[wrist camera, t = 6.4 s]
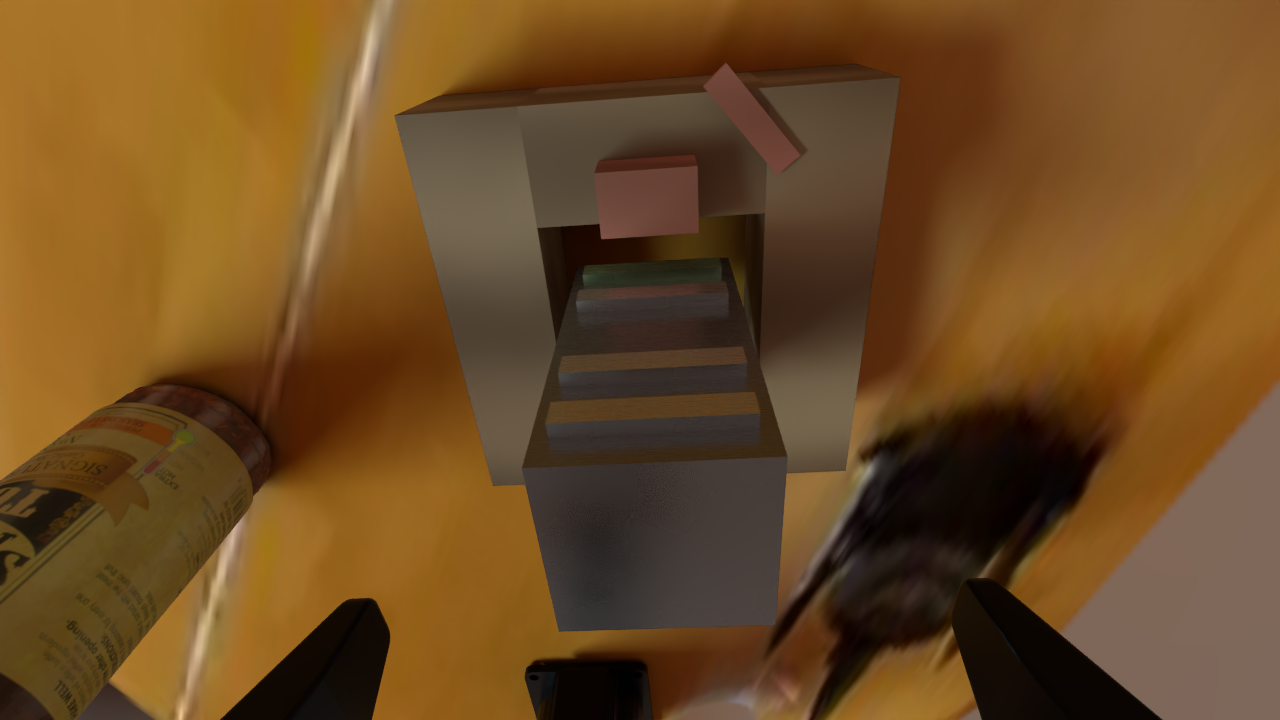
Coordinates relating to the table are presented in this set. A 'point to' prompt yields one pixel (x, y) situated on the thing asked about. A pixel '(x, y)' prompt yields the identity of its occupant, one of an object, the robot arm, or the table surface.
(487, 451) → the stand base
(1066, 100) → the table surface
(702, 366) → the column
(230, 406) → the sauce bottle
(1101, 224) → the table surface
